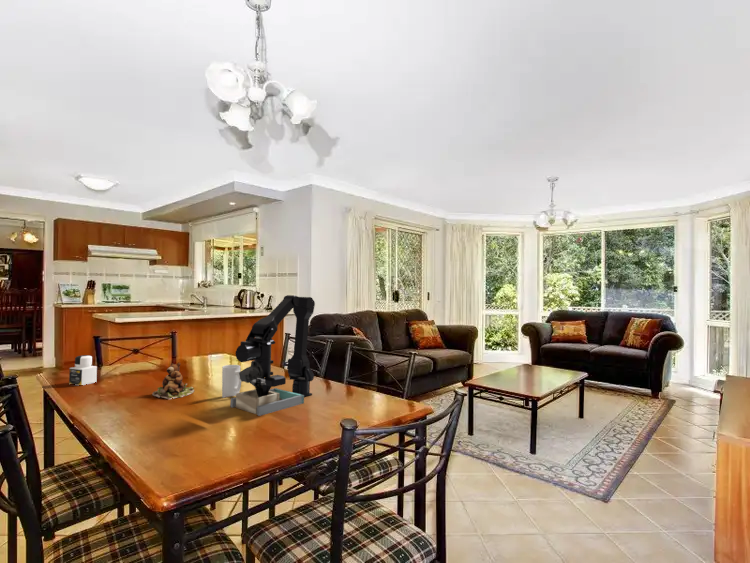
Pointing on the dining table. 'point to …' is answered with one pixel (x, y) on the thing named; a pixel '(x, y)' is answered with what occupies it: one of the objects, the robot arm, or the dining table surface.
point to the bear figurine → (173, 384)
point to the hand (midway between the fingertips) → (261, 402)
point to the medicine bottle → (83, 371)
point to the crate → (254, 400)
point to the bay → (277, 402)
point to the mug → (230, 380)
